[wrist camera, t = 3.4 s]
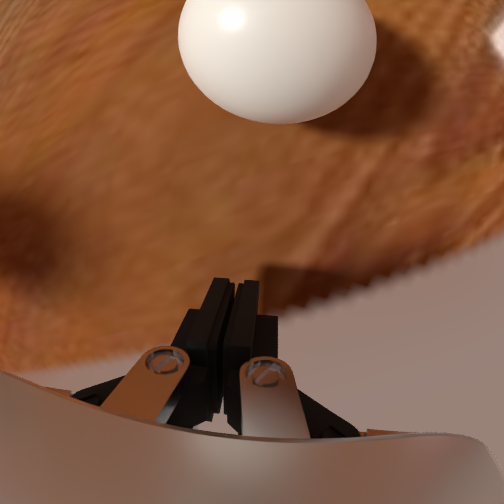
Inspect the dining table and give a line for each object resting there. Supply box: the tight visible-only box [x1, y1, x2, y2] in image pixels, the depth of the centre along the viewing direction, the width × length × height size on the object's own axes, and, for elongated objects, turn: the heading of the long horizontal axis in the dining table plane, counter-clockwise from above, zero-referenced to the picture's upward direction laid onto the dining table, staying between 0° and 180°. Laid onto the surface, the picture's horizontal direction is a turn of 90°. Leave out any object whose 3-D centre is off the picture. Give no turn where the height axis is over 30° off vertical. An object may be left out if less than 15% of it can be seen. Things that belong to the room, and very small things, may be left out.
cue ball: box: [178, 0, 377, 124], centre depth 7 cm, size 6×6×6 cm
